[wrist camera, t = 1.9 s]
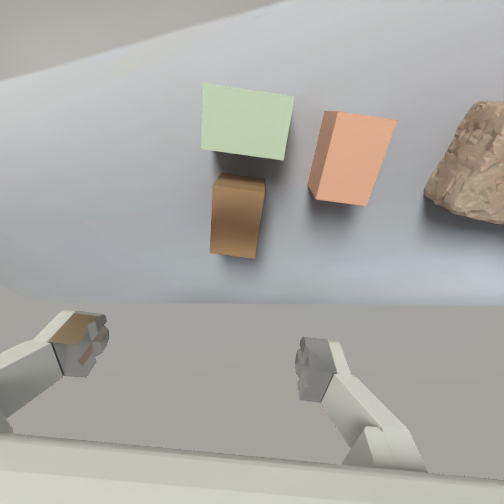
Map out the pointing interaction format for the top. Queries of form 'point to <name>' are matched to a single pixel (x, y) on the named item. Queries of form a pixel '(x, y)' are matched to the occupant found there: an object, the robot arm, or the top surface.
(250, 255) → the walnut block
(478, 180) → the brick
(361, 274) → the top surface
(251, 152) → the sage block
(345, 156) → the terracotta block
